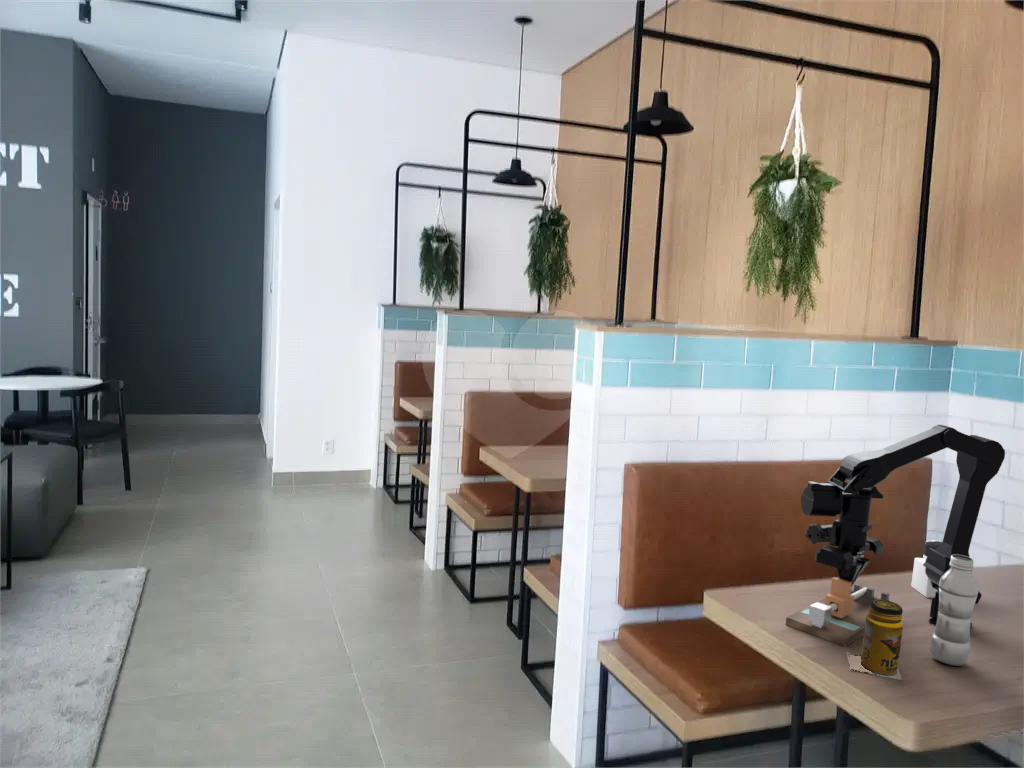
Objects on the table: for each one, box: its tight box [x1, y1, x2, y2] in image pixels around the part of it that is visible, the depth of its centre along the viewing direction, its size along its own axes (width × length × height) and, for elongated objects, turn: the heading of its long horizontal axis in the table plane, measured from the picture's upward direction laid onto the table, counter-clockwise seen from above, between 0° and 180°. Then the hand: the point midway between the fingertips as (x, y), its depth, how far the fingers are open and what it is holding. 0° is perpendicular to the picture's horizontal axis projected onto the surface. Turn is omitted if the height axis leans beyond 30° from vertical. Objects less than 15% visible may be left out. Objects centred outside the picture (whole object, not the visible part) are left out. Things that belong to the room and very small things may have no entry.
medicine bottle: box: [910, 539, 943, 599], centre depth 182 cm, size 7×7×12 cm
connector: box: [808, 601, 832, 629], centre depth 155 cm, size 3×3×4 cm
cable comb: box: [851, 583, 890, 606], centre depth 170 cm, size 10×1×4 cm, turn 44°
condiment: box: [845, 599, 904, 681], centre depth 142 cm, size 7×8×12 cm
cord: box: [829, 587, 868, 612], centre depth 163 cm, size 1×20×1 cm, turn 134°
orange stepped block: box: [825, 576, 854, 618], centre depth 161 cm, size 4×5×7 cm
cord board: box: [785, 597, 870, 647], centre depth 163 cm, size 12×23×2 cm, turn 134°
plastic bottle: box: [929, 554, 980, 667], centre depth 145 cm, size 6×7×20 cm
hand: (845, 591), depth 163 cm, fingers closed
